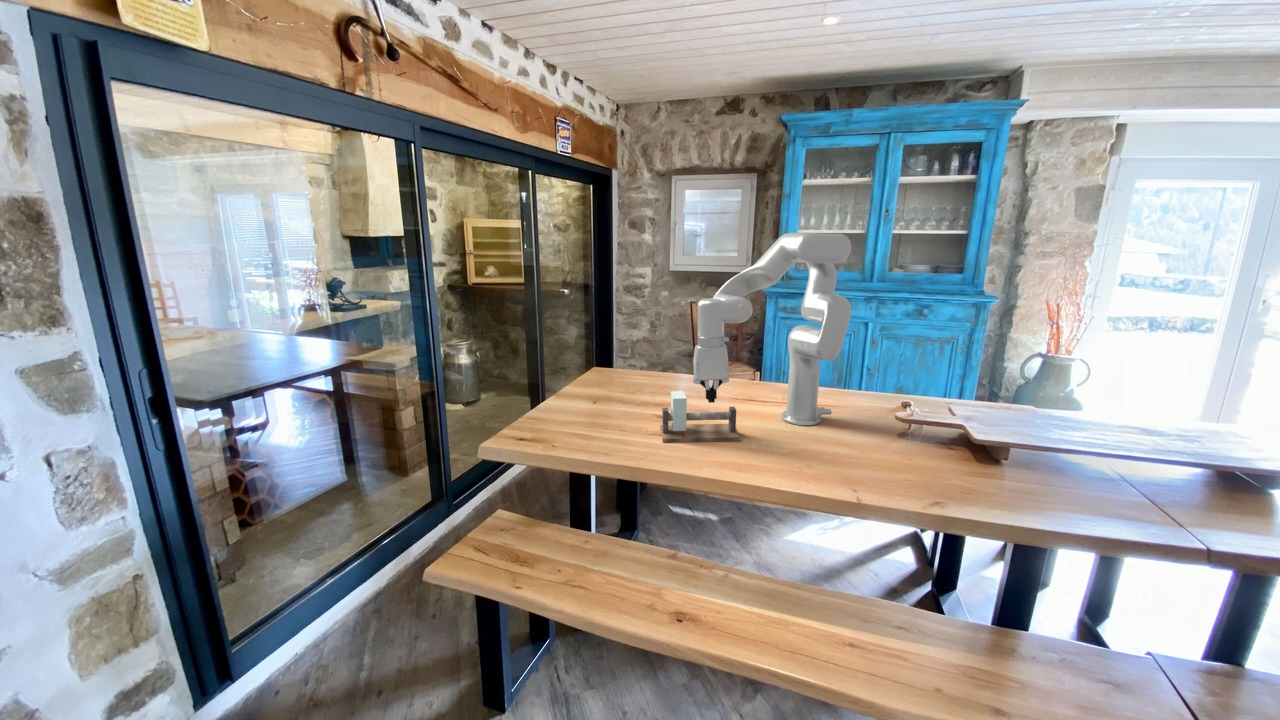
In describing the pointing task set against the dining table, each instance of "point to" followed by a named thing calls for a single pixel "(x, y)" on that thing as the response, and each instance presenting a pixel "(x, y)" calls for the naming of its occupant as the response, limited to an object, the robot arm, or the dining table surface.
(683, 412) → the sleeve block
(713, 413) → the rod stand
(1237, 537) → the dining table surface
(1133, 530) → the dining table surface
